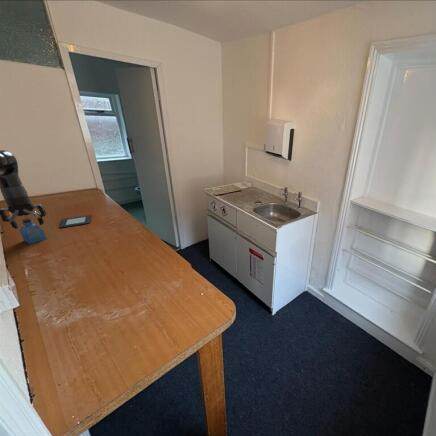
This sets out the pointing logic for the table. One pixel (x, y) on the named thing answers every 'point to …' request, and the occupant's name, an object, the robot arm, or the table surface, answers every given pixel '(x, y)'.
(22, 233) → the perfume bottle
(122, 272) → the table surface
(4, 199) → the robot arm
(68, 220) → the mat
